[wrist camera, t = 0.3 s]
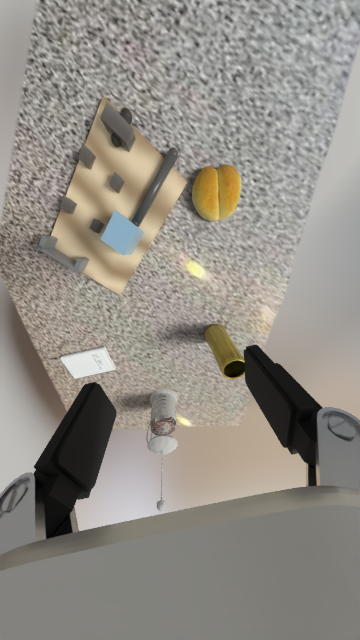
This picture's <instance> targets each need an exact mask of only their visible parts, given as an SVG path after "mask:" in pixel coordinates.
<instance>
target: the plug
mask: <svg viewBox="0 0 360 640" xmlns="http://www.w3.org/2000/svg"><path fill="white" fill-rule="evenodd" d="M177 157H178V152H177V150H176V149H175V148H173V147H172V148H170V150H169V151H168V153H167V155H166V157H165V159H164V161H163V163H162V164H161V166H160V168H159V170H158V172H157V174H156V176H155V178H154V179H153V181H152V183H151V185H150V187H149V189H148V191H147V193H146V194H145V196H144V198H143V200H142V202H141V204H140V206H139V208H138V209H137V211H136V213H135V215H134V217H133V219H132V222H131V221H130V220H129V219H127V218H126V217H125V216H123V215H122V214H121V213H119V212H118V211H117V210H115V211H114V213H113V215H112V217H111V219H110V221H109V223H108V225H107V227H106V229H105V231H104V233H103V235H102V237H101V240H102V241H103V242H105V243H106V244H108V245H109V246H110V247H112V248H113V249H115V250H116V251H118V252H119V253H120V254H122V255H123V256H124V255H130V254H132V253H133V251H134V250H135V248H136V246H137V244H138V243H139V241H140V239H141V238H142V236H143V234H144V232H143V231H142V230H141V229H140V228H138V227H139V226H140V224H141V222H142V221H143V219H144V217H145V215H146V213H147V212H148V210H149V208H150V206H151V204H152V203H153V201H154V199H155V197H156V195H157V194H158V192H159V190H160V188H161V187H162V185H163V183H164V181H165V179H166V178H167V176H168V174H169V172H170V170H171V169H172V167H173V165H174V163H175V161H176V160H177Z"/></svg>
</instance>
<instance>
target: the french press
mask: <svg viewBox="0 0 360 640" xmlns="http://www.w3.org/2000/svg"><path fill="white" fill-rule="evenodd" d="M177 399H178V397H177V395H176V394H175V393H174V392H173V391H171V390H166V389H162V390H157V391H156V392H154V393H152V395H151V396H150V402H151V404H152V411H151V421H150V424H149V426H150V425H151V431H152V433H154V434H155V435H159V436H155V437H153V438H152V433H151V439H150V441H149V442H148V441H147V444H148V445H147V447H148V449H149V450H150V451H152V452H154V453H156V454H160V455H162V462H163V455H164V454H167V453H169V452H171V451H173V450H174V449H175V448H176V447H177V444H178V443H177V441H176V439H175V438H174V437H172V436H169V434H171V433H173V431H174V430H175V425H176V415H175V413H176V411H175V403H176V402H177ZM156 409H157V411H156V412H155V410H156ZM164 416H170V418H164ZM155 417H157V421H156V423H155ZM172 418H173V419H172ZM170 419H172V420H171V421H167V420H170ZM174 419H175V420H174ZM173 420H174V422H173ZM172 422H173V423H172ZM148 430H149V427H148ZM147 436H148V431H147ZM162 470H163V463H162ZM162 473H163V471H162ZM162 475H163V474H162ZM165 506H166V501H163V500H162V480H161V501H158V502H157V508H158V510H159V511H163V510H164V509H165Z"/></svg>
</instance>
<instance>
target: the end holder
mask: <svg viewBox="0 0 360 640" xmlns="http://www.w3.org/2000/svg"><path fill="white" fill-rule="evenodd" d="M57 240H58V238H56V237H54V236H49V235H42V237H41V240H40V243H39V246H38V248H37V249H38V250H40V251H42V252H43V253H45V254H47V255H48V256H50V257H52V258H53V259H55V260H57V261H58V262H60V263H61V264H63V265H65V266H66V267H68V268H70V269H71V270H73V271H75V272H76V273H78V272H81V271H84V270H85V268H86V266H87V264H88V262H89V260H90V259H88V258H87V257H81V258H78V259H77V262H76V261H75V260H73V259H71V258H70V257H68V256H67V255H65V254H63V253H62V252H60V251H59V250H57V249H55V245H56V243H57Z"/></svg>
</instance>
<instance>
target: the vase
mask: <svg viewBox="0 0 360 640" xmlns="http://www.w3.org/2000/svg"><path fill="white" fill-rule="evenodd" d="M204 337H205V339H206V340H207V342H208V344H209V346H210V348H211V350H212V352H213V354H214V356H215V358H216V360H217V363H218V365H219V368H220V370H221V372H222V374H223V376H224V377H226V378H228V379H237V378H239V377H241V376H243V375H244V374H245V364H244V358H243V357H242V356H241V354H240V352H239V351H238V349H237V348H236V346H235V345H234V343H233V342H232V340H231V338H230V337H229V335H228V334H227V332H226V330H225V328H224V327H223V326H222V325H219V324H214V325H211V326H209V327H208V328H207V329H206V331H205V333H204Z"/></svg>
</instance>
